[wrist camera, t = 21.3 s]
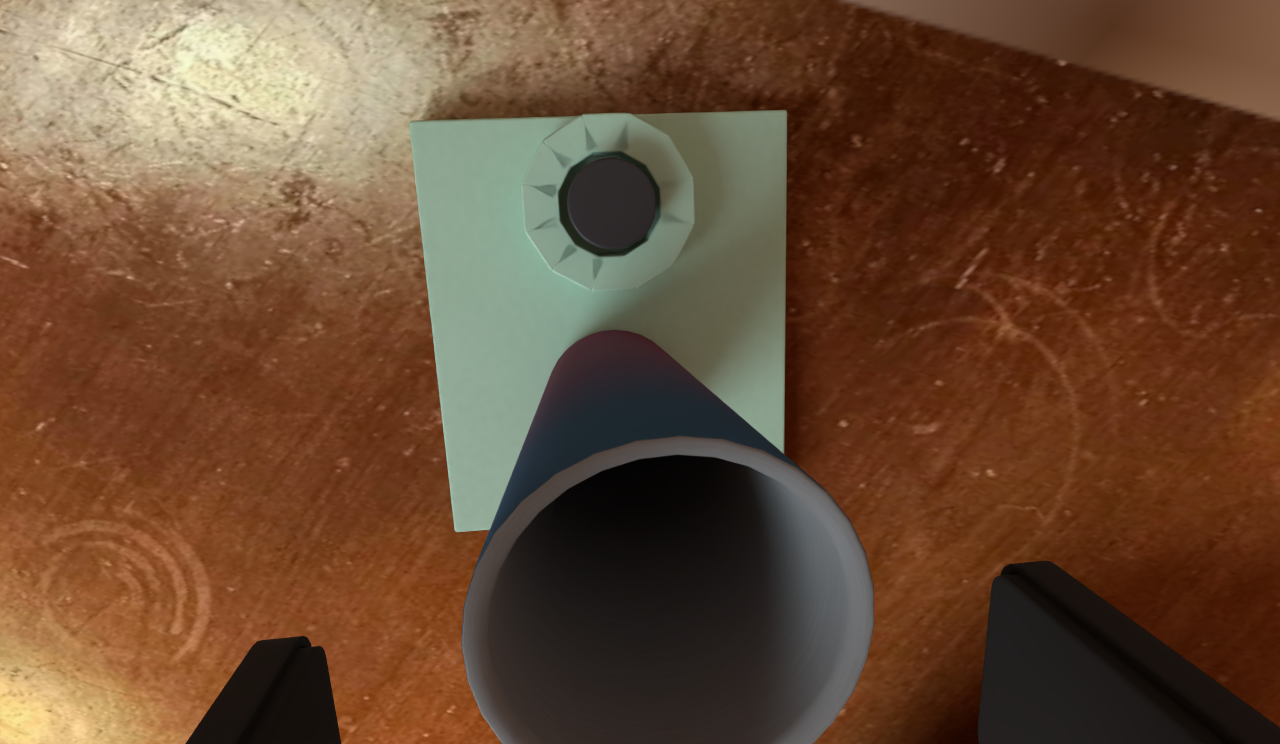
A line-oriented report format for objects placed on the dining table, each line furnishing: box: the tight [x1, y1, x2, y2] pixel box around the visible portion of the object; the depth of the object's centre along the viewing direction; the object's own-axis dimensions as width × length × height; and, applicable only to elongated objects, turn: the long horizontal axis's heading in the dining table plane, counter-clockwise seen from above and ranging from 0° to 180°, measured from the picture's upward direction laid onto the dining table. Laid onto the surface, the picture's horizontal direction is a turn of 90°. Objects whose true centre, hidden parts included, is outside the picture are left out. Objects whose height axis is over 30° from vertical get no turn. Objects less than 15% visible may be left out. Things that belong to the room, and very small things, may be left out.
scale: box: [409, 110, 787, 532], centre depth 25 cm, size 15×13×3 cm
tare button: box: [567, 158, 656, 249], centre depth 22 cm, size 3×3×2 cm
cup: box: [461, 330, 874, 744], centre depth 18 cm, size 7×7×15 cm
